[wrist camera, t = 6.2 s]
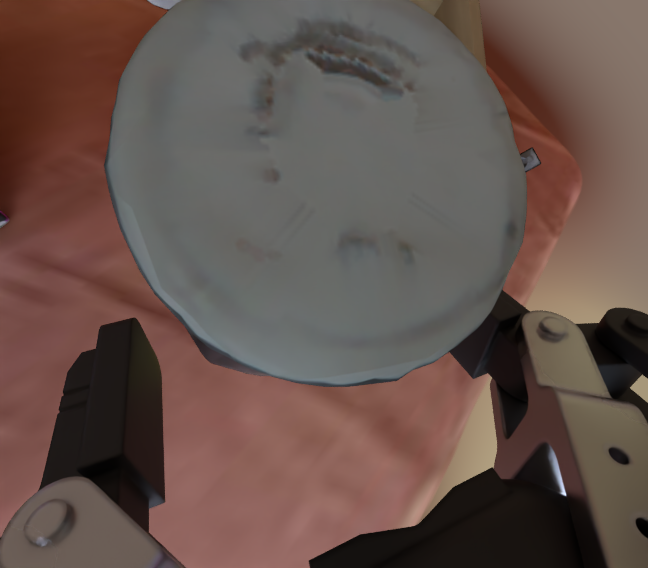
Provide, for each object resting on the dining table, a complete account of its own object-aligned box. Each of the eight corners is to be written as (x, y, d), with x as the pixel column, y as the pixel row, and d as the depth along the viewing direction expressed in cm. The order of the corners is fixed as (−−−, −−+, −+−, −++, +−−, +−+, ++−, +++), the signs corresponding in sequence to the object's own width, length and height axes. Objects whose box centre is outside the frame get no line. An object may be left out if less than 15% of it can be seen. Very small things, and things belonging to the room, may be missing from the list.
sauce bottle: (246, 235, 23) (307, -292, 4) (319, 290, 23) (695, 107, 4) (180, 314, 21) (-390, 123, 2) (262, 371, 22) (469, 659, 3)
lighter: (435, 230, 29) (440, 228, 24) (423, 209, 29) (427, 204, 24) (527, 180, 27) (555, 167, 22) (515, 158, 27) (540, 140, 22)
